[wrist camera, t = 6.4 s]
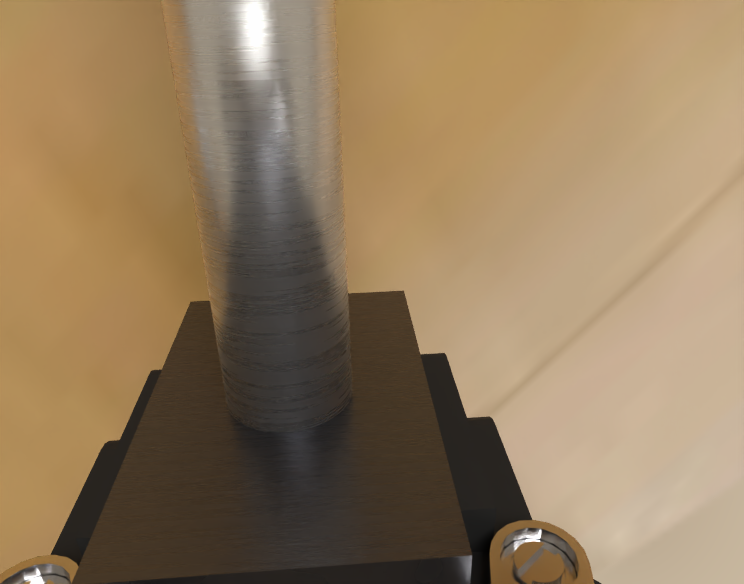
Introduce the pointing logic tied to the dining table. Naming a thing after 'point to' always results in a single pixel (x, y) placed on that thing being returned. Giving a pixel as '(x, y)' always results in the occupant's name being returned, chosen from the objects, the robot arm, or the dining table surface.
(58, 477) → the dining table surface
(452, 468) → the robot arm
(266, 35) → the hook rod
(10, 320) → the dining table surface
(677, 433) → the dining table surface
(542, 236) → the dining table surface
